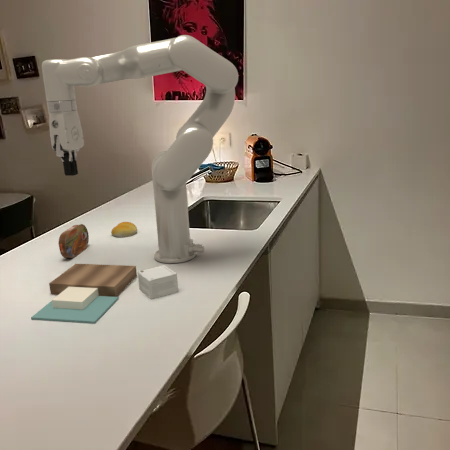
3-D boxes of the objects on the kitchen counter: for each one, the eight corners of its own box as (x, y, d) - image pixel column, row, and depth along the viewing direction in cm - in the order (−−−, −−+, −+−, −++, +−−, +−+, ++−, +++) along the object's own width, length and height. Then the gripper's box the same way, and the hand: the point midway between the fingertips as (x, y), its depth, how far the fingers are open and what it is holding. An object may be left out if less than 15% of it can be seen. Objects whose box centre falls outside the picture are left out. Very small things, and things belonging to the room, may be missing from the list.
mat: (118, 298, 128) (118, 296, 128) (95, 323, 116) (94, 321, 115) (60, 295, 131) (60, 293, 131) (31, 319, 119) (31, 317, 119)
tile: (98, 295, 129) (97, 288, 128) (83, 309, 122) (82, 302, 121) (69, 293, 131) (68, 286, 130) (52, 307, 123) (51, 300, 123)
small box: (179, 292, 130) (177, 273, 129) (150, 300, 127) (148, 280, 125) (166, 282, 137) (164, 264, 135) (138, 289, 133) (136, 271, 131)
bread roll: (108, 238, 176) (107, 226, 175) (119, 230, 185) (118, 219, 184) (130, 238, 174) (129, 227, 173) (140, 230, 183) (139, 219, 182)
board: (136, 276, 141) (135, 265, 141) (115, 297, 128) (114, 286, 127) (77, 273, 145) (75, 263, 144) (50, 294, 132) (49, 283, 131)
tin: (68, 262, 155) (64, 235, 152) (59, 261, 156) (55, 235, 153) (90, 245, 169) (87, 221, 167) (82, 245, 170) (78, 220, 167)
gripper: (60, 109, 130) (70, 180, 136) (88, 105, 144) (95, 169, 149) (34, 110, 132) (44, 180, 137) (63, 105, 146) (72, 169, 151)
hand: (71, 174), depth 143 cm, fingers closed
